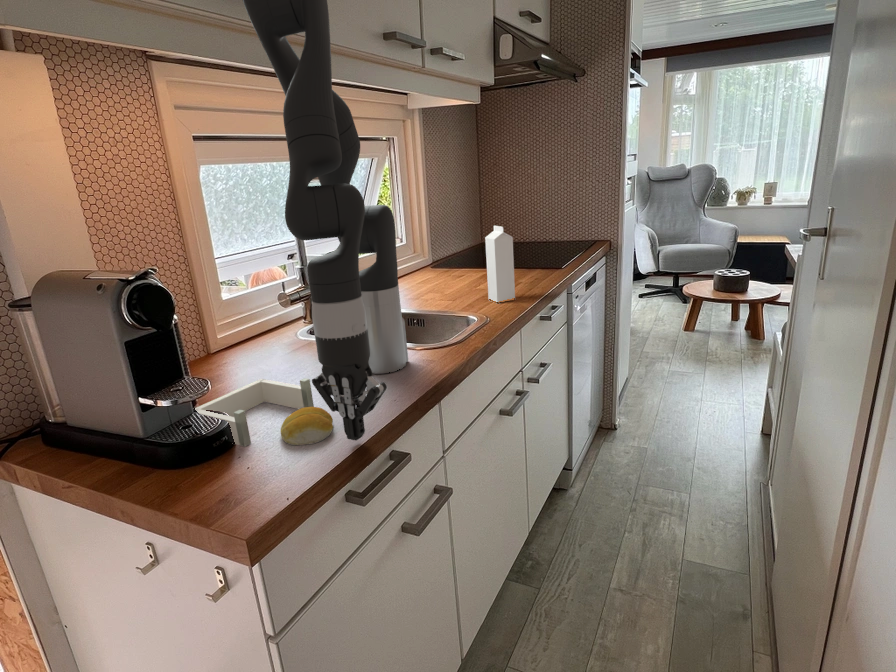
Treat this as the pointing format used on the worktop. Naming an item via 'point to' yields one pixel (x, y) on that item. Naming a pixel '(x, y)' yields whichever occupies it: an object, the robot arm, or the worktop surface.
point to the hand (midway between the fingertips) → (355, 437)
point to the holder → (256, 403)
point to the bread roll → (307, 426)
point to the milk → (500, 265)
